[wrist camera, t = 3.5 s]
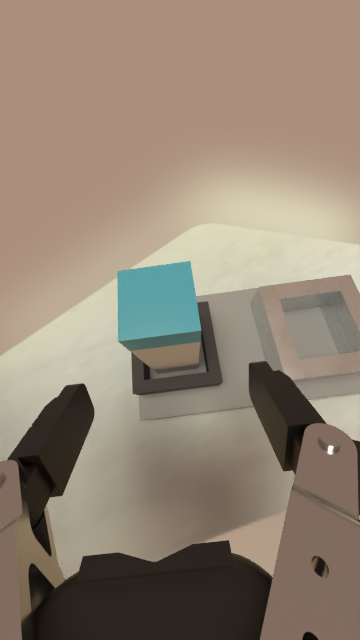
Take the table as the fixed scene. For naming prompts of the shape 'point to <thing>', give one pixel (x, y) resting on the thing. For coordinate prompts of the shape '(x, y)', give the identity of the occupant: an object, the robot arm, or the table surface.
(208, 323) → the dark grey square socket
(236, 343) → the panel
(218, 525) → the table surface
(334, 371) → the port
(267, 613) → the robot arm
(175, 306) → the plug
